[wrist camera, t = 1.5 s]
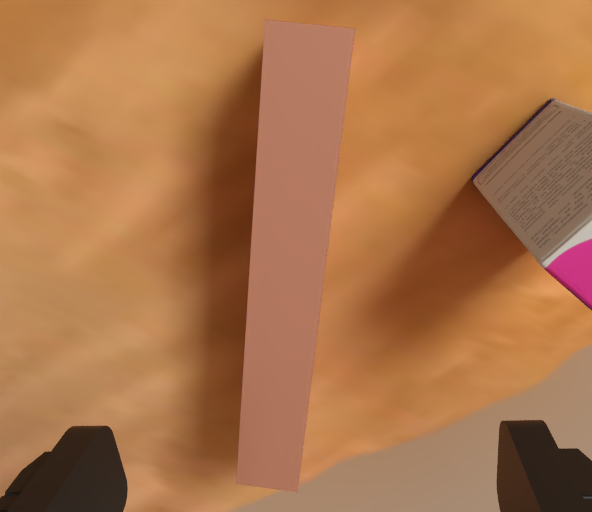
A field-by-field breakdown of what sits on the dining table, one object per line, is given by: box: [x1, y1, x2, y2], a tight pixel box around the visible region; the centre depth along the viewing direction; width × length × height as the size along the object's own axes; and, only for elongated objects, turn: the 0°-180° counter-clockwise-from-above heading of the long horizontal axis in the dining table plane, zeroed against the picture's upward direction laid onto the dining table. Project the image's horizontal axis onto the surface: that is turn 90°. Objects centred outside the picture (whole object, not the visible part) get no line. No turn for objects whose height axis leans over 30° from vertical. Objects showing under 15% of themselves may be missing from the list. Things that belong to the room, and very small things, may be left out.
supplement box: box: [471, 98, 592, 310], centre depth 23 cm, size 6×6×12 cm
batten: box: [236, 20, 355, 492], centre depth 28 cm, size 4×24×7 cm, turn 175°
